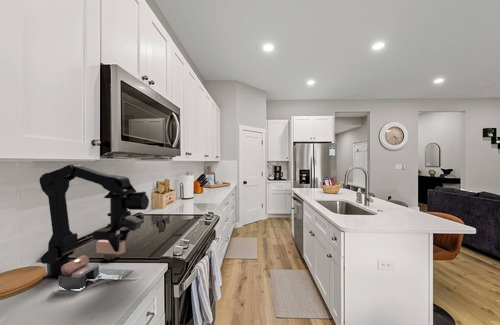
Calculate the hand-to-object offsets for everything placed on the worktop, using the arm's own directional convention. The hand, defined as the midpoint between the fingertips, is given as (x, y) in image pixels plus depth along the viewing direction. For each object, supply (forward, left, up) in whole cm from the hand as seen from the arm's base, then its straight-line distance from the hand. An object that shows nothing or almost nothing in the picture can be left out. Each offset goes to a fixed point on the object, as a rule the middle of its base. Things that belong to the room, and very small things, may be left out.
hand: (119, 250), depth 83 cm
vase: (-14, +13, -10) cm, 22 cm away
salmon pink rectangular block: (-3, 0, -1) cm, 4 cm away
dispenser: (-10, -7, -10) cm, 16 cm away
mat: (-3, 0, -10) cm, 10 cm away
